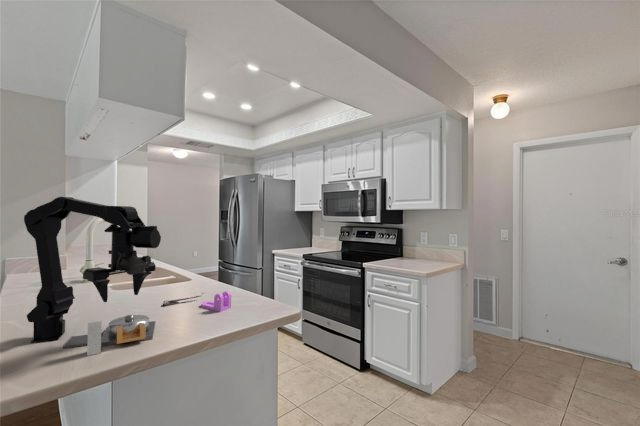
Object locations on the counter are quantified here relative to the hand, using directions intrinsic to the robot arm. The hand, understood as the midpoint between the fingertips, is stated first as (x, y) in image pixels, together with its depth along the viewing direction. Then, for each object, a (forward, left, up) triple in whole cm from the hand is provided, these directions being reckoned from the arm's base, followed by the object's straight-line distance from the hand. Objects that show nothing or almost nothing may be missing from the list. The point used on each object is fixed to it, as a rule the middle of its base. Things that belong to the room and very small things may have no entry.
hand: (121, 298), depth 94 cm
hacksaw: (+20, +40, -14) cm, 47 cm away
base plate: (+2, +4, -13) cm, 13 cm away
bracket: (+30, +23, -13) cm, 40 cm away
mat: (-10, +3, -13) cm, 16 cm away
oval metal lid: (+2, +2, -11) cm, 12 cm away
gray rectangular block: (-5, -7, -13) cm, 15 cm away
